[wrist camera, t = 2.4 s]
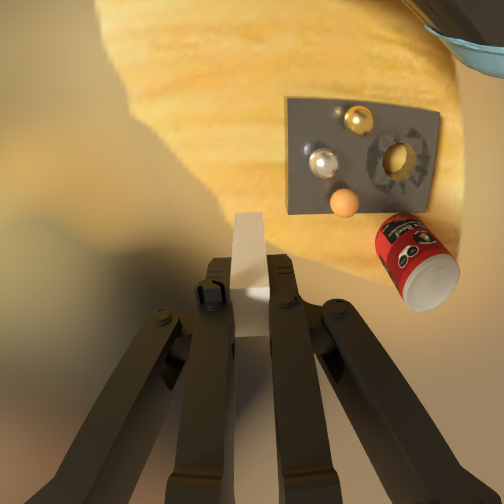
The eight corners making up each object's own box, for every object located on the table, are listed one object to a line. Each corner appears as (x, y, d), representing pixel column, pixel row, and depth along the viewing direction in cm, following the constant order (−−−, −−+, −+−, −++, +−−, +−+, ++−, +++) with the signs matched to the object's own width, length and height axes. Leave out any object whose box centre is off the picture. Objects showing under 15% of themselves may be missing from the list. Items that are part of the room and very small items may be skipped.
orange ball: (327, 184, 32) (335, 195, 29) (355, 184, 32) (364, 195, 29) (326, 210, 33) (333, 223, 31) (352, 210, 33) (361, 222, 31)
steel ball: (306, 144, 29) (312, 151, 27) (335, 144, 29) (344, 152, 26) (305, 173, 31) (311, 183, 28) (334, 173, 31) (342, 183, 28)
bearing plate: (284, 96, 29) (287, 98, 27) (429, 109, 28) (439, 112, 26) (285, 205, 36) (287, 214, 34) (416, 204, 35) (425, 212, 33)
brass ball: (339, 103, 27) (349, 106, 24) (368, 105, 27) (380, 109, 24) (339, 132, 28) (348, 139, 26) (367, 134, 28) (379, 140, 26)
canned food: (425, 210, 36) (468, 254, 27) (414, 258, 40) (448, 307, 31) (376, 212, 36) (414, 260, 27) (369, 262, 41) (397, 317, 31)
